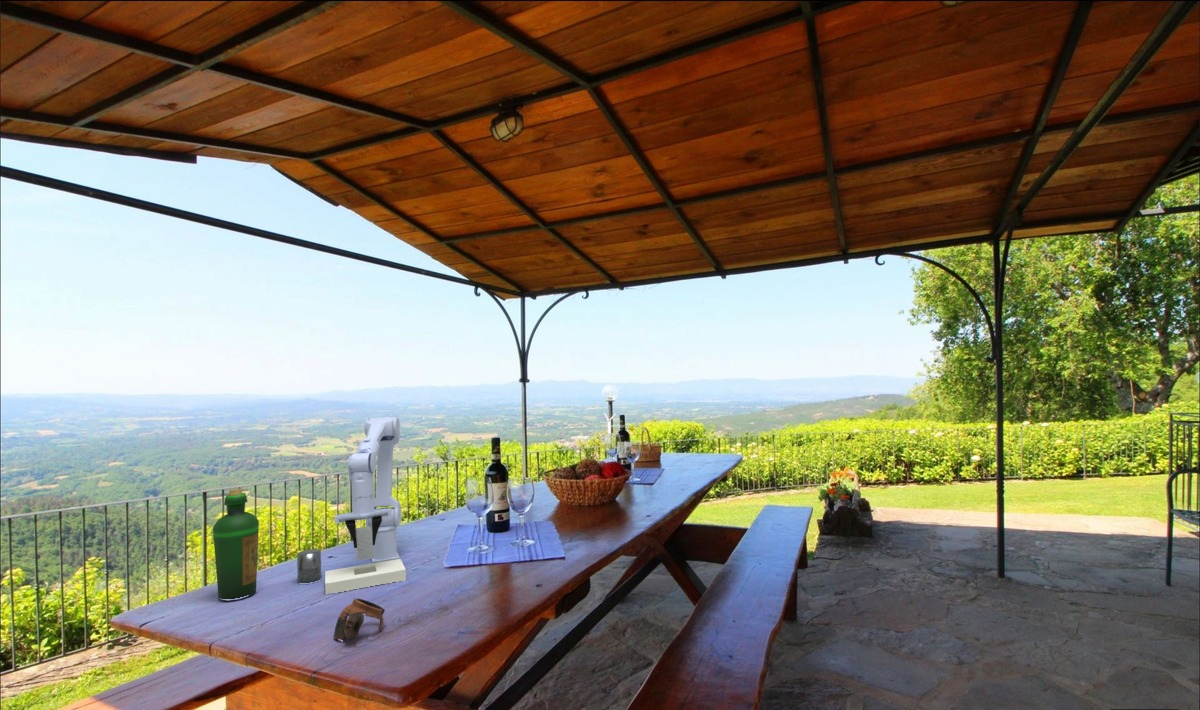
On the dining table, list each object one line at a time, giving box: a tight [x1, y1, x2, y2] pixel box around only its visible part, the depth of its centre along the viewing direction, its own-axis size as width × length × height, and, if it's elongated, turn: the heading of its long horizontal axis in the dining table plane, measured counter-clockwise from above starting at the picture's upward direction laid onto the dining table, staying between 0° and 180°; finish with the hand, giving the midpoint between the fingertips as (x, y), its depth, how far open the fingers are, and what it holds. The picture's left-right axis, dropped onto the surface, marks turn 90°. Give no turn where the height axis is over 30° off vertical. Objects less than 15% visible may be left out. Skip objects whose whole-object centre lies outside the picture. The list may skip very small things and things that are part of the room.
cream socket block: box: [324, 558, 407, 595], centre depth 161 cm, size 12×20×3 cm, turn 115°
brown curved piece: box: [333, 597, 386, 641], centre depth 125 cm, size 12×10×8 cm
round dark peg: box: [296, 548, 322, 584], centre depth 164 cm, size 6×6×8 cm
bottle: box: [212, 487, 260, 599], centre depth 154 cm, size 11×11×28 cm
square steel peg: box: [355, 526, 373, 562], centre depth 161 cm, size 4×4×8 cm
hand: (364, 545), depth 161 cm, fingers closed on square steel peg, 4 cm apart
